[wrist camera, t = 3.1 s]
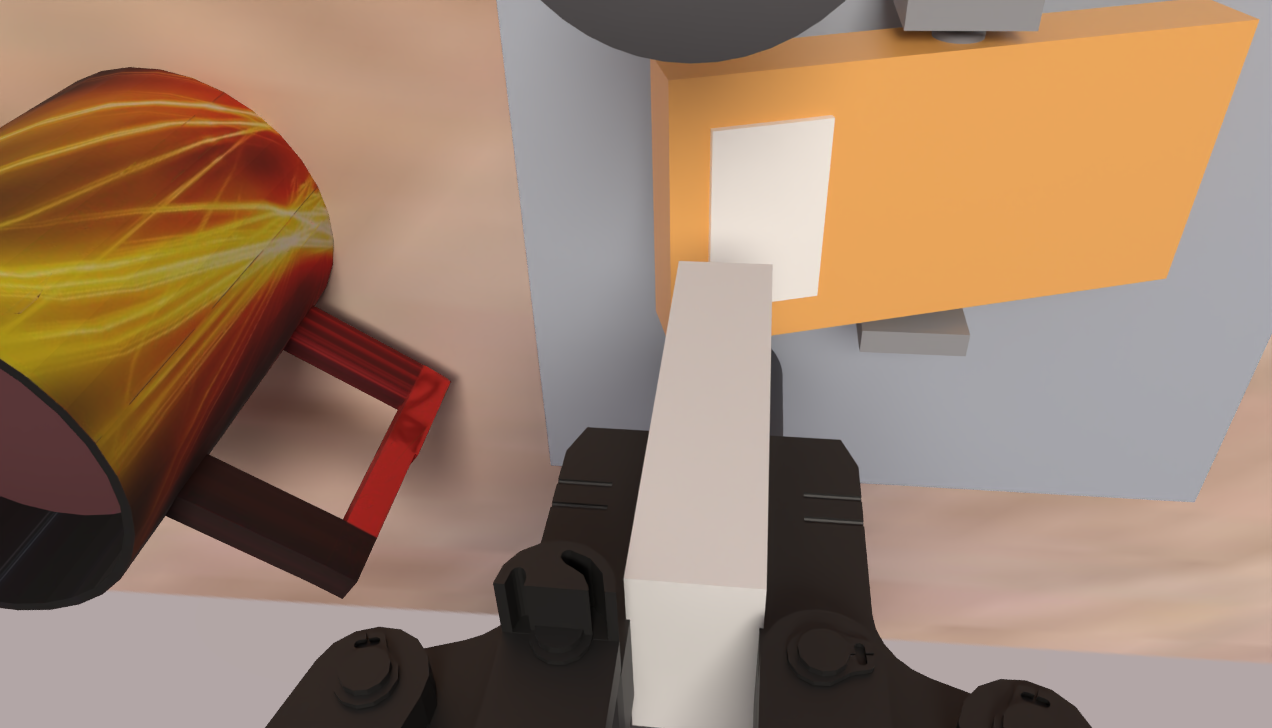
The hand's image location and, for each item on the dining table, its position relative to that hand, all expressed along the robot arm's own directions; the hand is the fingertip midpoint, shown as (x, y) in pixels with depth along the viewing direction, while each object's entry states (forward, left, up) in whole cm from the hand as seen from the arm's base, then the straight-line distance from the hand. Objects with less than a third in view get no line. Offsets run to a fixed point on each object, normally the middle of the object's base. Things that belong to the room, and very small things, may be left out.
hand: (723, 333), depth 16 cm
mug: (-16, -5, -13) cm, 21 cm away
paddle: (+4, 0, -6) cm, 7 cm away
